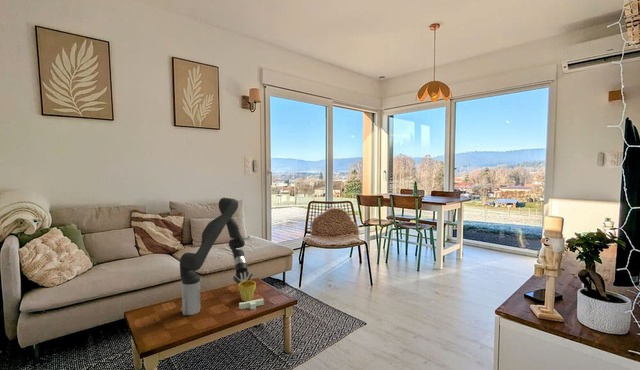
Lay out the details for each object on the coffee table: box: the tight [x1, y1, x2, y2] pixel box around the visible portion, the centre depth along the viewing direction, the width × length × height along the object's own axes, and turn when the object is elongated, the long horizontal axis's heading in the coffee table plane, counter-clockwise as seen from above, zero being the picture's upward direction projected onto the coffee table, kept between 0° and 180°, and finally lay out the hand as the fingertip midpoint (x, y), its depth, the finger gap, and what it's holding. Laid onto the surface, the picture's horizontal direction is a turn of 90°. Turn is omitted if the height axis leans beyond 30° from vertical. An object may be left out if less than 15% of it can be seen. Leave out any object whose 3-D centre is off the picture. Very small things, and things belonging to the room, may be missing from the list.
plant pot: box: [237, 280, 257, 302], centre depth 190 cm, size 10×10×10 cm
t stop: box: [238, 298, 265, 310], centre depth 179 cm, size 14×5×3 cm, turn 117°
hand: (245, 289), depth 194 cm, fingers closed
